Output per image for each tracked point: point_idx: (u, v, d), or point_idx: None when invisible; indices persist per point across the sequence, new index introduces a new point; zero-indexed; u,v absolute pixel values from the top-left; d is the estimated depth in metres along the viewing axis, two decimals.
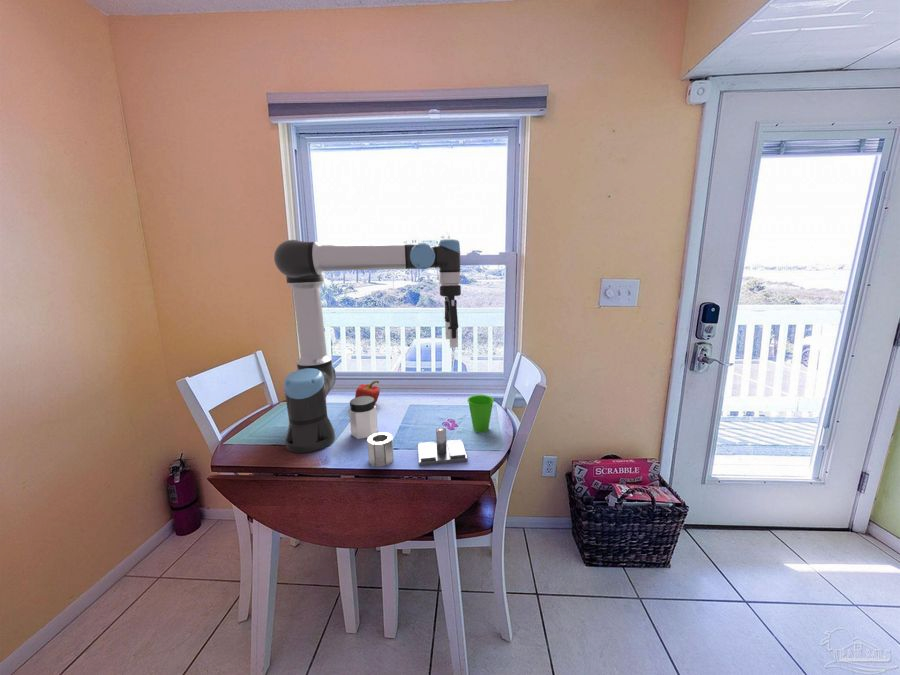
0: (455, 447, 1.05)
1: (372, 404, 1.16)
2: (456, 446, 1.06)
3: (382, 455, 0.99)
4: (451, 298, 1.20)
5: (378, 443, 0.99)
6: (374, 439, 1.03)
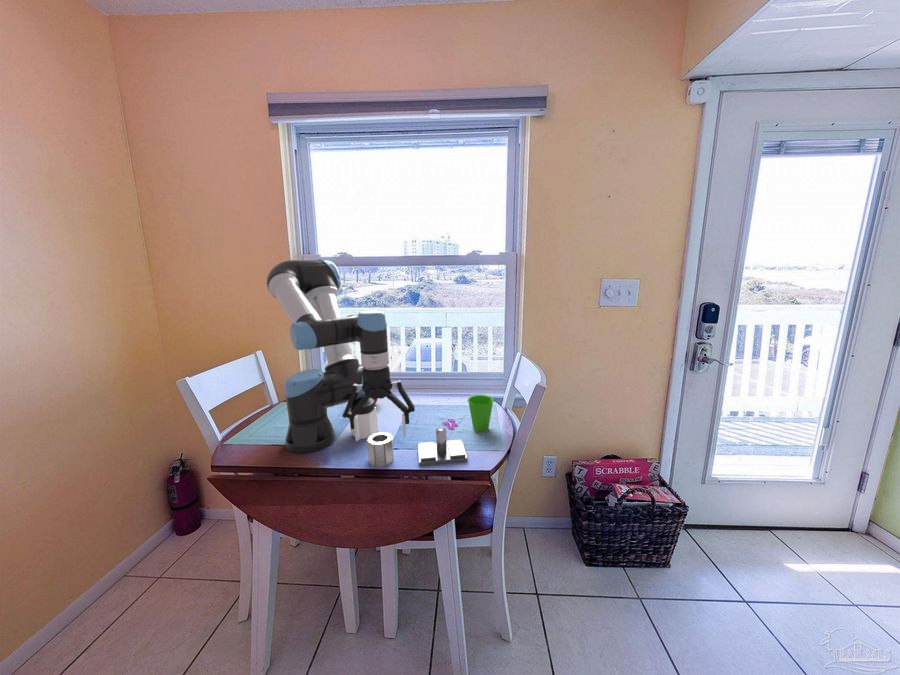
0: (455, 447, 1.05)
1: (372, 406, 1.15)
2: (456, 446, 1.06)
3: (382, 455, 0.99)
4: None
5: (378, 443, 0.99)
6: (374, 439, 1.03)
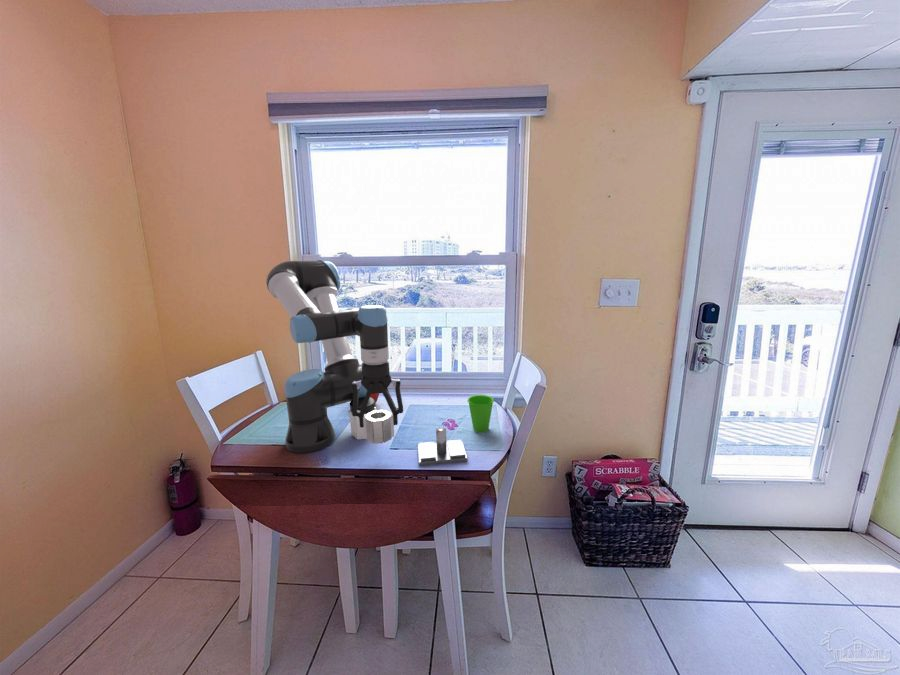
0: (455, 447, 1.05)
1: (372, 406, 1.15)
2: (456, 446, 1.06)
3: (380, 432, 0.98)
4: None
5: (376, 420, 0.97)
6: (372, 416, 1.02)
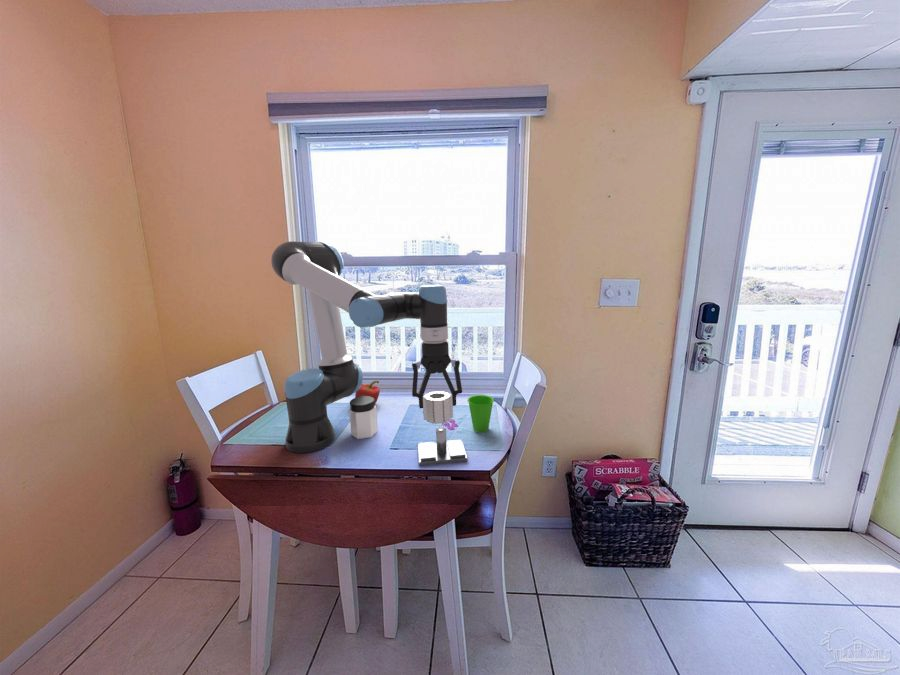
0: (455, 447, 1.05)
1: (372, 404, 1.16)
2: (456, 446, 1.06)
3: (441, 412, 0.97)
4: (421, 358, 0.98)
5: (437, 399, 0.97)
6: (431, 397, 1.01)
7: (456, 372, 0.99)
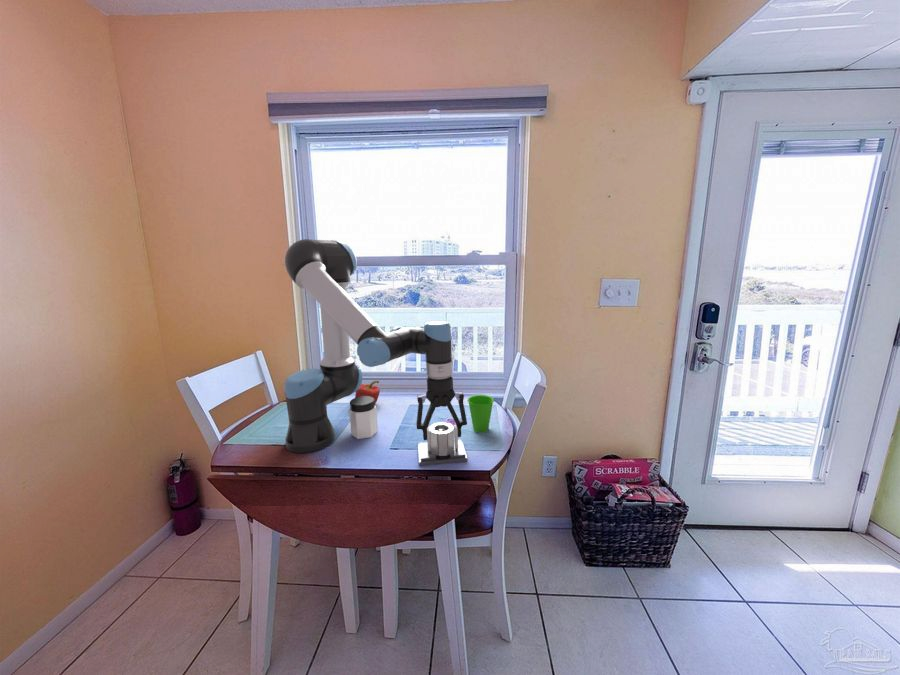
0: None
1: (372, 404, 1.16)
2: None
3: (445, 444, 1.00)
4: (426, 392, 1.00)
5: (441, 432, 1.00)
6: (435, 429, 1.04)
7: (461, 405, 1.01)
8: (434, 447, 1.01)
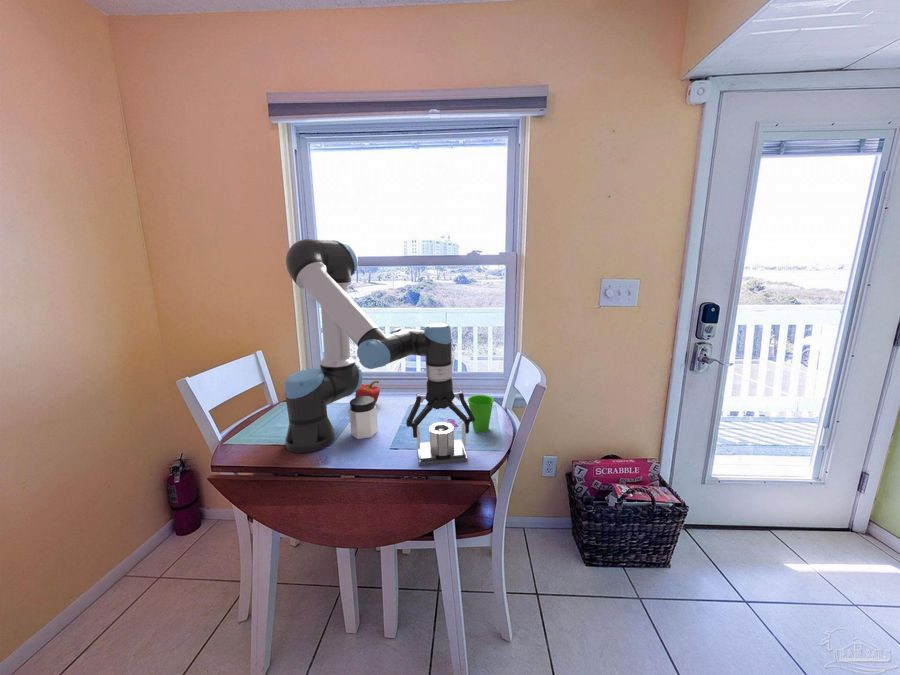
0: (455, 447, 1.05)
1: (372, 404, 1.16)
2: (456, 446, 1.06)
3: (445, 444, 1.00)
4: (427, 393, 1.00)
5: (441, 432, 1.00)
6: (435, 429, 1.04)
7: (463, 404, 1.01)
8: (434, 447, 1.01)
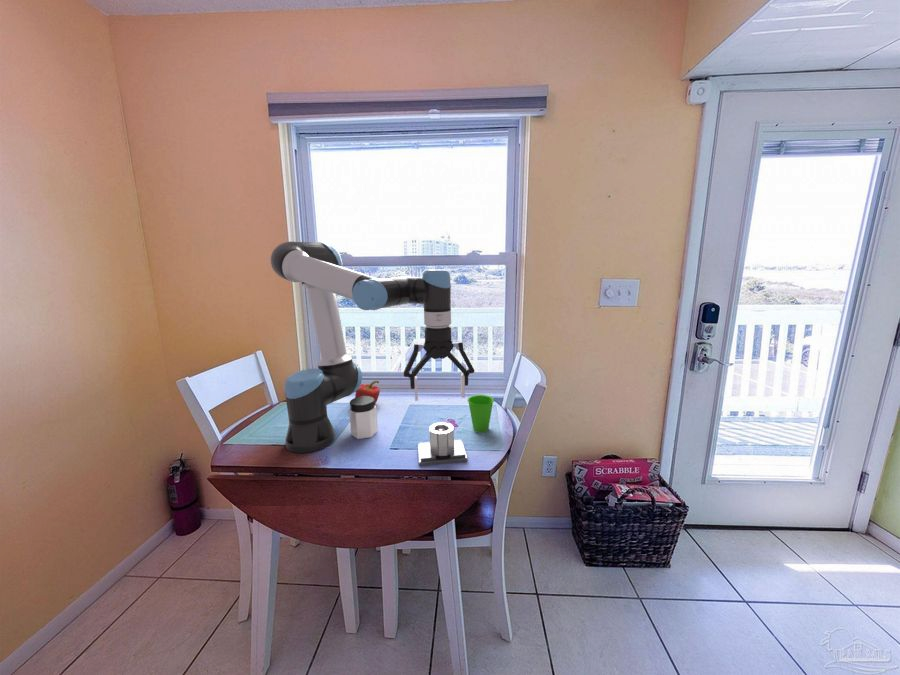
0: (455, 447, 1.05)
1: (372, 404, 1.16)
2: (456, 446, 1.06)
3: (445, 444, 1.00)
4: (425, 342, 0.97)
5: (441, 432, 1.00)
6: (435, 429, 1.04)
7: (462, 354, 0.98)
8: (434, 447, 1.01)
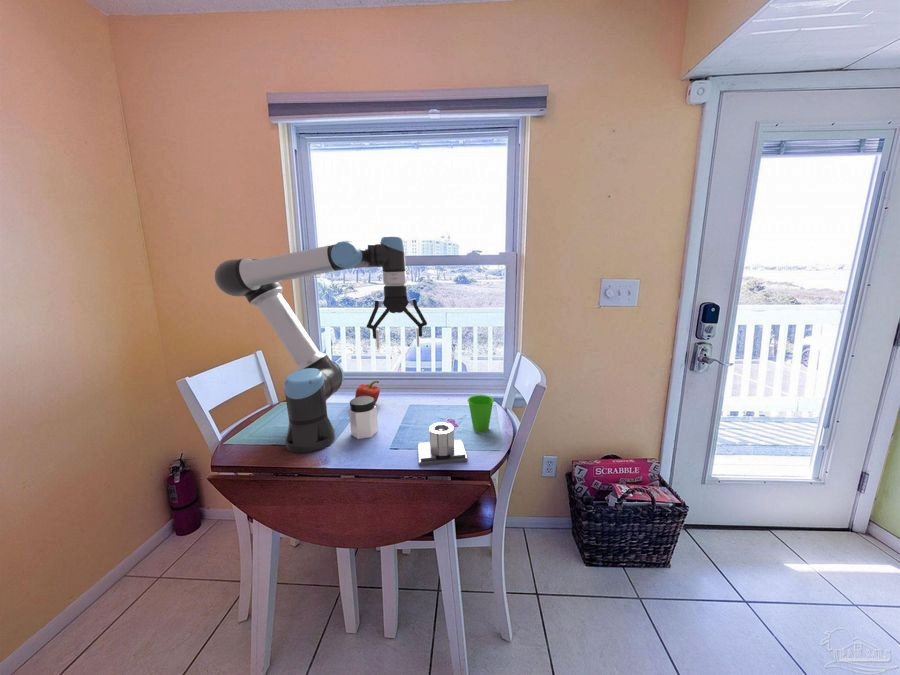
0: (455, 447, 1.05)
1: (372, 404, 1.16)
2: (456, 446, 1.06)
3: (445, 444, 1.00)
4: None
5: (441, 432, 1.00)
6: (435, 429, 1.04)
7: (416, 309, 1.17)
8: (434, 447, 1.01)
